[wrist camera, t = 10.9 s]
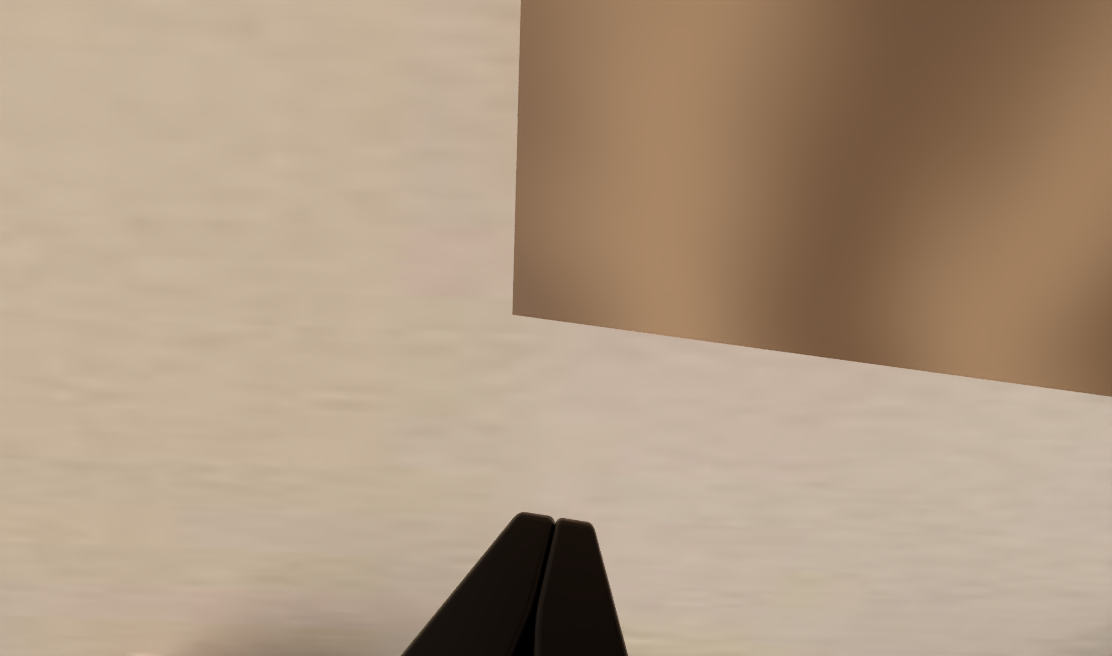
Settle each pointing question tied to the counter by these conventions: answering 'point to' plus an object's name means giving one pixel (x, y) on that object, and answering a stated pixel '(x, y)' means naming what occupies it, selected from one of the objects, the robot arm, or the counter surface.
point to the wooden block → (825, 179)
